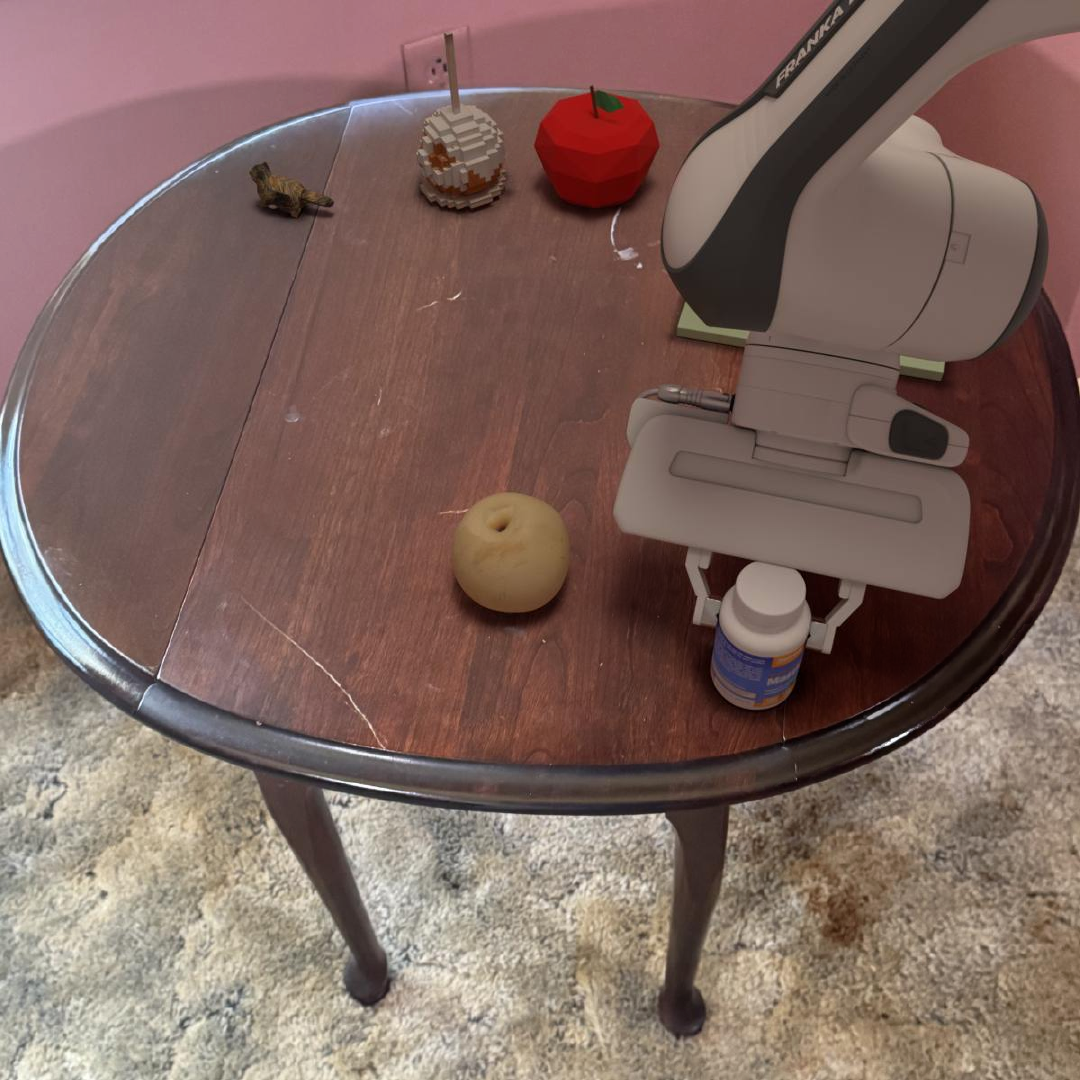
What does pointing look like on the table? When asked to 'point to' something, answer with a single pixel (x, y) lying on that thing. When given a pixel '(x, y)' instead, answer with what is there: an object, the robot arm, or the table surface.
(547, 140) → the apple
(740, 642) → the pill bottle
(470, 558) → the apple
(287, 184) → the cat figurine
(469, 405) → the table surface
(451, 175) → the caramel apple
